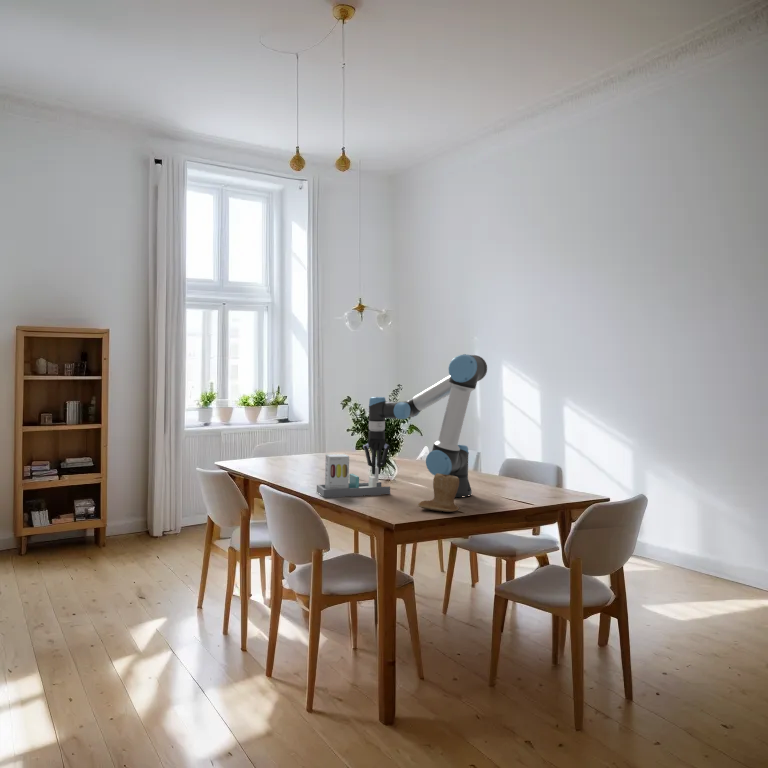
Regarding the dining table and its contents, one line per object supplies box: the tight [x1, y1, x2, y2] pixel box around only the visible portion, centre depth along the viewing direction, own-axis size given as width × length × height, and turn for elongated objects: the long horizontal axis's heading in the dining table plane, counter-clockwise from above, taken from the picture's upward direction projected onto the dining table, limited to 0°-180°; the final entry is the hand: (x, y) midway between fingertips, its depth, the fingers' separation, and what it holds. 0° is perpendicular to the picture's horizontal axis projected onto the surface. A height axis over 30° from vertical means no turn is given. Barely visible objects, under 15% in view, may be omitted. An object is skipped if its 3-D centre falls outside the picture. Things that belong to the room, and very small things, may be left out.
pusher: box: [349, 473, 377, 488], centre depth 312 cm, size 11×11×7 cm
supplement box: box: [324, 453, 350, 489], centre depth 308 cm, size 10×9×17 cm
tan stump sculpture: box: [417, 473, 460, 513], centre depth 275 cm, size 15×12×15 cm
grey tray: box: [316, 481, 391, 498], centre depth 311 cm, size 14×31×4 cm, turn 109°
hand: (375, 481), depth 315 cm, fingers closed
